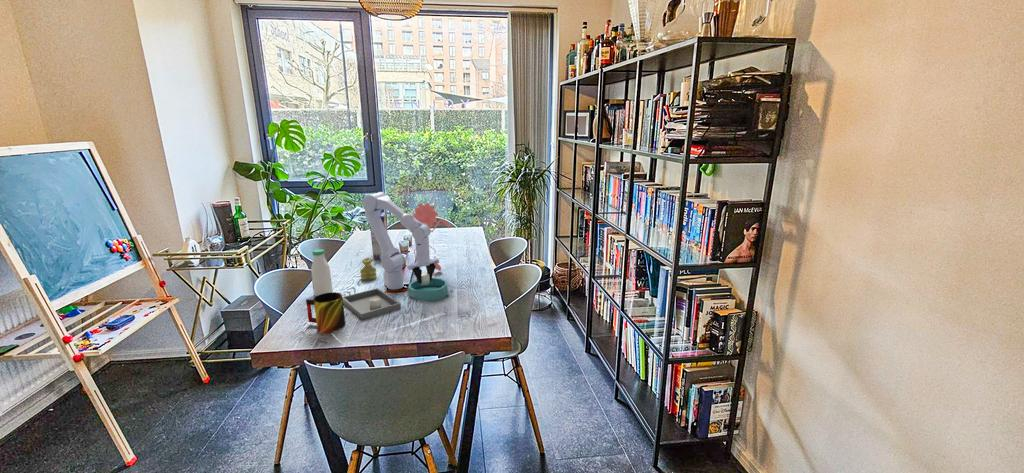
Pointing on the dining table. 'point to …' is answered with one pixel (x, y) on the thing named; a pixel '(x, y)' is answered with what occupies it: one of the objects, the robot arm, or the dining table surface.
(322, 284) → the milk bottle
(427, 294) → the bowl
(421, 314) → the dining table surface
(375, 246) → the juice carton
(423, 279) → the stone
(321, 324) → the mug
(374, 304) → the stone
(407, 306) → the dining table surface
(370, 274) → the olive yellow vase
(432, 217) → the figurine
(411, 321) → the dining table surface
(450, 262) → the dining table surface
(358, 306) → the tray
